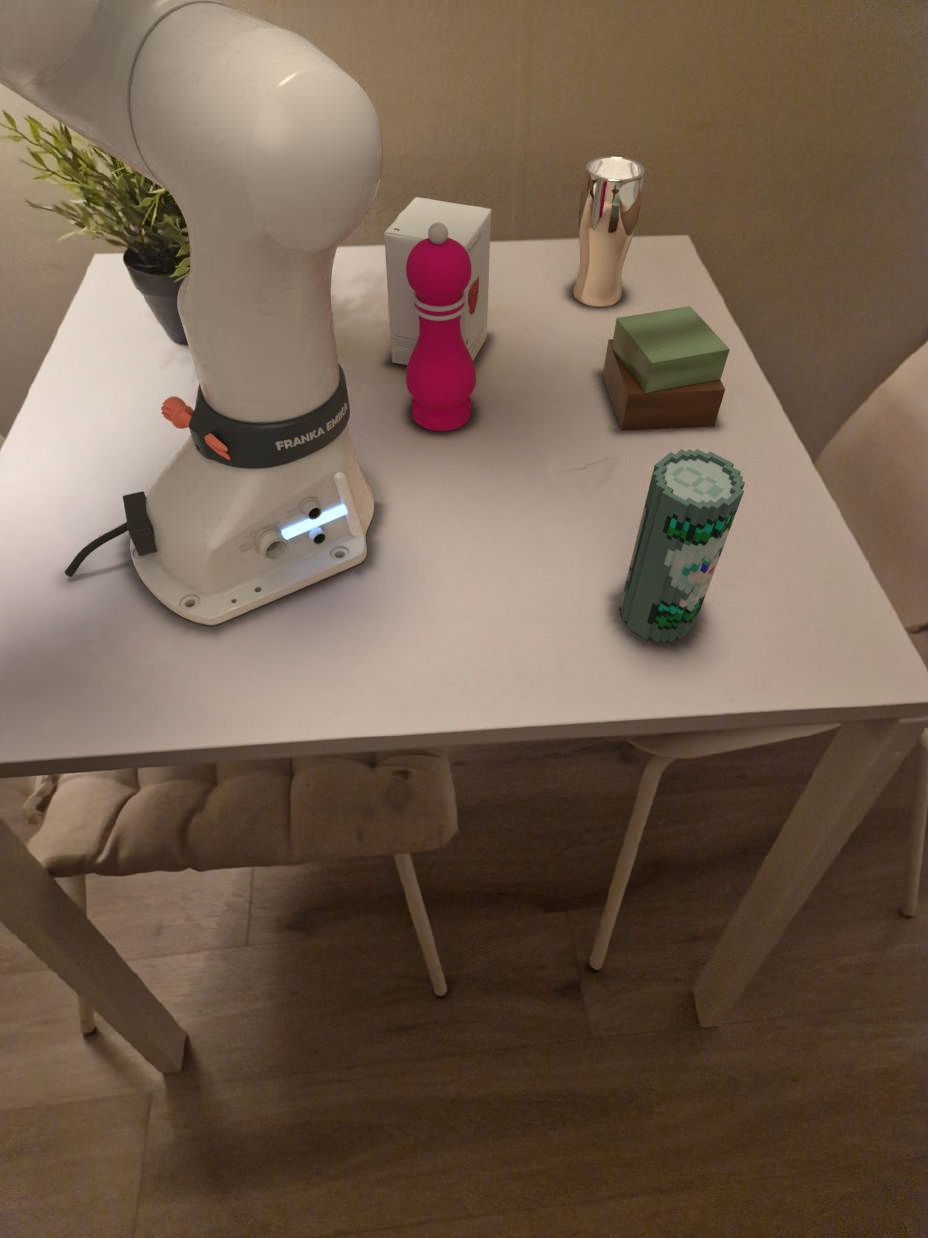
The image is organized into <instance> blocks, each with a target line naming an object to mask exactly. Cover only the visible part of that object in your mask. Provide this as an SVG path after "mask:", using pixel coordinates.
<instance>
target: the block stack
mask: <svg viewBox="0 0 928 1238" xmlns="http://www.w3.org/2000/svg"><path fill="white" fill-rule="evenodd" d="M730 350H731V349H730V347H728V345H727V344H726V343H724V341H723V340H722V339H721V337H720V336H719V335H718V334H717V333H716V332H715V331H714V330H713V329H712V328H711V327H710V326H709V325H708V324H707V322H705V320H703V318H702V316H701V315H699V314H698V313H697V312H696V311H695V309H694V308H693V307H692V306H691V305H689V306H688V305H687V306H682V307H676V308H670V309H669V308H668V309H663V310H658V311H657V310H656V311H651V312H645V313H640V314H633V315H627V316H621V317H620V316H619V317H617V318H616V320H615V326H614V332H613V338H610V339H608V340H607V347H606V352H605V359H604V364H603V371H602V377H603V379H604V383H605V386H606V389H607V392H608V395H609V398H610V402H611V404H612V408H613V410H614V413H615V416H616V419H617V422H618V424H619V427H620V430H621V431H635V430H636V431H637V430H654V429H655V430H657V429H675V428H676V429H677V428H695V427H712V426H713V427H714V426H715V425H716V421H717V419H718V415H719V412H720V409H721V405H722V402H723V399H724V396H725V393H726V388H725V386H724V384H723V382H722V380H721V379H722V376H723V373H724V371H725V366H726V363H727V359H728V356H729V353H730Z"/></svg>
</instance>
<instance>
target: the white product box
mask: <svg viewBox="0 0 928 1238" xmlns="http://www.w3.org/2000/svg"><path fill="white" fill-rule="evenodd" d="M437 222H439V223H442V224H444V225H445V226H446V228H447V230H448V238H451V239H453V240H455V241H457V242H459V243H460V244H461V245H462V246H463V247H464V248H465V250H466V251H467V253H468V255H469V258H470V261H471V271H472V273H471V279H470V282H469V284H468V286H467V287H466V289H465V290H464V291H465V293H466V300H465V303H466V308H465V311H464V312H463V313H462V314H461V318H460V329H461V335H462V338H463V340H464V343H465V345H466V347H467V349H468V351H469V353H470V355H471V357H472V360H473V361H474V360H475V359H476V357H477V355H478V354H479V352H480V350H481V348H482V347H483V345H484V343H485V341H486V339H487V336H488V314H489V313H488V312H489V311H488V310H489V285H490V284H489V283H490V258H491V257H490V255H491V253H490V252H491V226H492V225H491V224H492V209H491V208H487V207H482V206H477V205H468V204H463V203H462V204H461V203H454V202H448V201H442V200H437V199H432V198H424V197H418V196H417V197H414V198H413V199H412V200H411V201H410V202H409V203H408V205H407V206H406V207H405V208H404V209H403V210H402V211H400V212H399V214H398V215H397V216H396V218H395V220H394V221H393V222H392V223H391V224H390V226H389V227H388V228H386V230H385V231H384V233H383V235H384V250H385V267H386V285H387V301H388V302H387V303H388V317H389V332H390V333H389V334H390V351H391V362H392V364H393V363H394V364H399V365H405V366H407V365H408V362H409V359H410V356H411V354H412V352H413V350H414V348H415V346H416V343H417V341H418V337H419V316H418V314H417V313H416V312H415V311H414V308H413V303H414V301H413V293H414V290H413V289H412V287H411V286H410V285H409V282H408V280H407V276H406V263H407V259H408V256H409V254H410V252H411V250H412V249H413V247H414V246H415V245H416V244H417V243H419V242H420V241H422V240H424V239H426V238H429V237H428V230H429V228H430V226H431V225H432V224H434V223H437Z"/></svg>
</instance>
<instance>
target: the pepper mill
mask: <svg viewBox="0 0 928 1238" xmlns="http://www.w3.org/2000/svg"><path fill="white" fill-rule="evenodd" d="M428 237H429V238H426V239H424V240H422V241H420V242H419V243H417V244H416V245H415V246H414V247H413V249H412V250H411V252H410V254H409V256H408V259H407V263H406V276H407V280H408V282H409V285H410V286H411V287H412V289H413V290H414V293H413V301H414V303H413V308H414V311H415V312H416V313H417V314H418V316H419V337H418V341H417V343H416V346H415V348H414V350H413V352H412V354H411V356H410V359H409V362H408V365H406V370H405V385H406V389H407V391H408V392H409V394H410V395H411V396H412V398H411V415H412V418H413V420H414V421H415V422H416V424H417V425H419V426H420V427H421V428H424V429H426V430H428V431H429V430H430V431H434V432H448V431H449V432H450V431H453V430H456V429H459V428H460V427H463V426H465V424H466V423H467V422H468V421H469V420H470V418H471V415H472V399H471V395H472V393H474V390H475V388H476V384H477V376H476V367H475V364H474V360H472V357H471V355H470V353H469V351H468V349H467V347H466V345H465V343H464V340H463V338H462V335H461V329H460V318H461V314H462V313H463V312H464V311H465V308H466V303H465V300H466V293H465V291H464V290H465V289H466V287H467V286H468V284H469V282H470V279H471V273H472V271H471V261H470V258H469V255H468V253H467V251H466V250H465V248H464V247H463V246H462V245H461V244H460V243H459V242H457V241H455V240H453V239H451V238H448V230H447V228H446V226H445V225H444V224H442V223H439V222H437V223H434V224H432V225H431V226H430V228H429V230H428Z"/></svg>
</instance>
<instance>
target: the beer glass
mask: <svg viewBox="0 0 928 1238" xmlns="http://www.w3.org/2000/svg"><path fill="white" fill-rule="evenodd" d="M645 171H646V170H645V168H644V166H643V164H641V163H640V162H639V161H637V160H635V159H632V158H628V157H623V156H617V155H616V156H615V155H614V156H611V155H608V156H607V155H606V156H600V157H599V156H598V157H596V158H593V159H591V160H589V161H588V162H587V163H586V164H585V171H584V177H583V182H582V187H581V191H580V192H581V193H580V198H579V199H580V200H579V207H578V208H579V209H578V242H579V266H578V272H577V277H576V280H575V283H574V286H573V289H572V294H573V297H574V298H575V299H576V301H578V302H579V303H581V304H582V305H585V306H589V307H594V308H604V307H610V306H613V305H615V304H617V303H618V302H620V300H621V298H622V292H623V291H622V290H623V289H622V287H623V285H622V276H623V269H624V264H625V260H626V258H627V255H628V252H629V249H630V246H631V243H632V241H633V237H634V234H635V231H636V228H637V224H638V220H639V216H640V210H641V205H642V204H641V203H642V197H643V189H644V188H643V187H644V175H645Z"/></svg>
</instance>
